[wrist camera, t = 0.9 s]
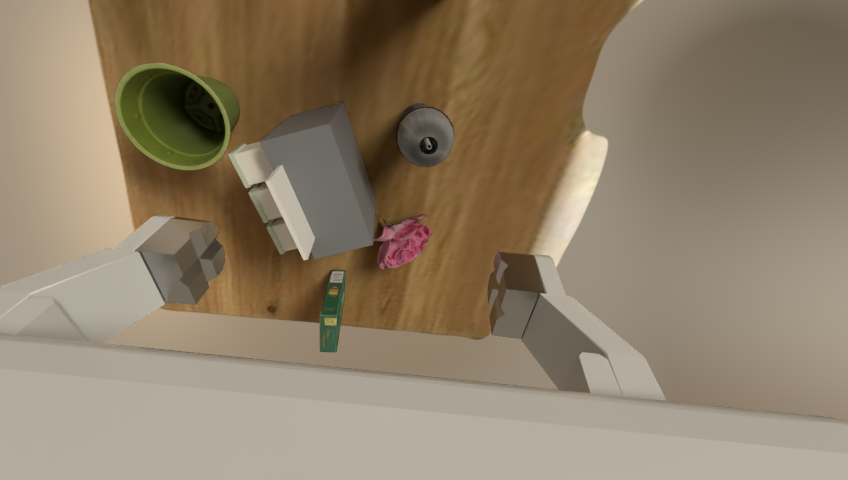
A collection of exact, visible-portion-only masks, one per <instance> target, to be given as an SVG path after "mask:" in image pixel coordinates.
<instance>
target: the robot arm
mask: <svg viewBox="0 0 848 480" xmlns="http://www.w3.org/2000/svg"><path fill="white" fill-rule="evenodd" d="M218 234H219V232H218V230H217V227H216V224H214V223H213V222H211V221H204V220H196V219H188V218H181V217H171V216H162V215H157V216H153V217H151V218H150V219H149V220H148V221H147V222H145V223H144V224H143V225H142V226H140V227H139V228H138V229H137V230H136V231H134V232H133V233H132V234H131V235H129V236H128V237H127V238H126V239H125V240H123V241H122V242H121V243H120V244H119V245H117V246H116V247H115V248H114V249H104V250H101V251H98V252H96V253H93V254H90V255H87V256H84V257H82V258H79V259H76V260H74V261H70V262H68V263H65V264H62V265H60V266H56V267H54V268H51V269H48V270H45V271H42V272H40V273H37V274H34V275H31V276H29V277H26V278H23V279H20V280H17V281H14V282H12V283H9V284H6V285H3V286H0V480H848V421H846V420H843V419H837V418H831V417H824V416H814V415H803V414H792V413H781V412H772V411H762V410H753V409H743V408H732V407H723V406H712V405H703V404H693V403H684V402H673V401H666V399H665V397H664V395H663V393H662V391H661V389H660V387H659V385H658V383H657V381H656V379H655V377H654V375H653V373H652V371H651V370H650V367H649V365H648V363H647V361H646V359H645V358H644V357H643V356H642V355H641V354H640V353H639V352H637V351H636V350H635V349H634V348H632V347H631V346H630V345H629V344H628V343H626V342H625V341H624V340H623V339H622V338H620V337H619V336H618V335H617V334H615V333H614V332H613V331H612V330H611V329H610V328H608V327H607V326H606V325H605V324H603V323H602V322H601V321H600V320H599V319H597V318H596V317H595V316H594V315H593V314H591V313H590V312H589V311H588V310H587V309H586V308H584V307H583V306H582V305H581V304H580V303H578V302H577V301H576V300H575V299H574V298H572V297H570V296H566V294H565V292H564V289H563V286H562V283H561V281H560V278H559V275H558V273H557V270H556V267H555V264H554V262H553V259H552V258H551V257H550V256H545V255H526V254H517V253H507V252H497V254H496V256H495V260H494V267H495V271H494V272H492V273H491V274H490V279H489V283H488V305H489V306H490V307H491V308H492V310H491V314H490V323H491V331H492V335H494V336H502V337H510V338H517V339H522V342H523V343H524V344H525V346H526V347H527V348H528V350H529V351H530V352H531V353H532V355H533V356H534V357H535V359H536V360H537V361H538V363H539V364H540V365H541V367H542V368H543V369H544V371H545V372H546V373H547V375H548V376H549V377H550V379H551V380H552V381H553V382H554V384H555V385H556V386H557V388H558V389H559V390H556V389H546V388H536V387H526V386H517V385H507V384H497V383H487V382H477V381H468V380H457V379H448V378H437V377H427V376H419V375H409V374H399V373H389V372H379V371H369V370H359V369H349V368H340V367H330V366H321V365H310V364H301V363H291V362H281V361H271V360H262V359H252V358H241V357H232V356H222V355H213V354H203V353H193V352H183V351H173V350H163V349H154V348H144V347H134V346H123V345H114V344H104V343H103V342H105V341H106V340H108V339H110V338H111V337H113V336H115V335H116V334H118V333H119V332H121V331H123V330H124V329H126V328H127V327H129V326H130V325H132V324H134V323H135V322H137V321H138V320H140V319H142V318H143V317H145V316H147V315H148V314H149V313H151V312H153V311H154V310H156V309H158V308H159V307H161V306H163V305H164V304H165V302H166V303H180V304H193V305H196V304H197V303H198V301H199V300H200V299H201V298H202V296H203V295H204V294H205V292H206V291H207V290H208V288H209V285H208V281H210V280H212V279H214V278H216V277H217V276H218V275H219V274H220V272H221V271H222V269H223V266H224V263H225V251H224V248H223V245H221V244H220V243H219V242H218V241H217V240H216V238H217V236H218Z"/></svg>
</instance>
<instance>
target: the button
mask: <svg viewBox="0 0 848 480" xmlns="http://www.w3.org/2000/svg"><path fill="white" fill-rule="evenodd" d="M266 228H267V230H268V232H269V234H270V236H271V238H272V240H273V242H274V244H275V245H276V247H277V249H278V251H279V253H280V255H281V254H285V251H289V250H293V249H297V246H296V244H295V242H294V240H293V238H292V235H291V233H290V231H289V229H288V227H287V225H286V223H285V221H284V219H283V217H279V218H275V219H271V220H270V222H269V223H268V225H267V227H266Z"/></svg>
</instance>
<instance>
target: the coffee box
mask: <svg viewBox="0 0 848 480" xmlns="http://www.w3.org/2000/svg"><path fill="white" fill-rule="evenodd" d="M345 273H346V271H345V270H331V274H330V278H329V282H328V286H327V290H326V294H325V298H324V302H323V306H322V310H321V313H320V352H337V346H338V339H339V332H340V326H341V320H342V313H343V307H344V293H345Z"/></svg>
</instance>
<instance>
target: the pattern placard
mask: <svg viewBox="0 0 848 480" xmlns="http://www.w3.org/2000/svg"><path fill="white" fill-rule="evenodd" d="M265 182H266V184H267V186H268V188H269V190H270V192H271V194H272V196H273V199H274V201H275V203H276V205H277V207H278V209H279V211H280V213H281V215H282V217H283V219H284V221H285V223H286V225H287V227H288V229H289V231H290V233H291V235H292V238H293V240H294V242H295V244H296V246H297V248H298V250H299V252H300V254H301V256H302V258H303V260H308V258H309V255H310V252H311V249H312V246H313V243H314V240H315V237H314V235H313V233H312V230H311V228H310V226H309V224H308V221H307V219H306V217H305V215H304V213H303V210H302V208H301V206H300V204H299V201H298V199H297V197H296V195H295V193H294V190H293V188H292V186H291V184H290V181H289V179H288V177H287V175H286V173H285V170H284V168H283V166H282V165H280V166H277V168H276V169H275V170H274V171H273V172H272V174H271V175H270V176H269V177H268V178H267V180H266V181H265Z"/></svg>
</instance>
